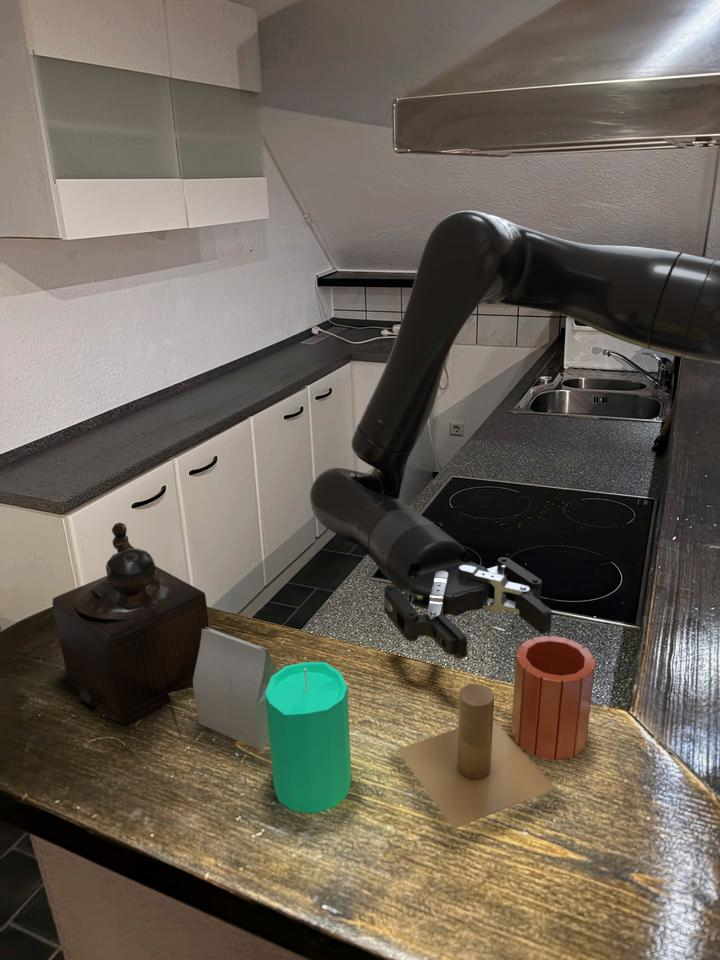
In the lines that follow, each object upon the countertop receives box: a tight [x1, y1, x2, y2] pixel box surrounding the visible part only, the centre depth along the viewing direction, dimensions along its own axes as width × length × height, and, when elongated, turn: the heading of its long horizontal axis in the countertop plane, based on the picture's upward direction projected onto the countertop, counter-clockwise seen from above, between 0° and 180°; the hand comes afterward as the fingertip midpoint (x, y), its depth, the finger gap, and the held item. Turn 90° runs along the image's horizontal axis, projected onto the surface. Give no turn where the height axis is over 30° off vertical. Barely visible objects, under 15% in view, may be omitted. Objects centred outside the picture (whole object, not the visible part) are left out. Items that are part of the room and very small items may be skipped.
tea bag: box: [193, 627, 279, 751], centre depth 64 cm, size 4×7×10 cm, turn 59°
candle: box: [265, 661, 352, 814], centre depth 57 cm, size 6×6×12 cm
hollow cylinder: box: [510, 635, 596, 761], centre depth 62 cm, size 6×6×9 cm
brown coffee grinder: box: [52, 522, 210, 726], centre depth 69 cm, size 16×11×18 cm
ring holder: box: [397, 683, 557, 830], centre depth 59 cm, size 9×9×8 cm
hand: (506, 636), depth 65 cm, fingers open, 8 cm apart
